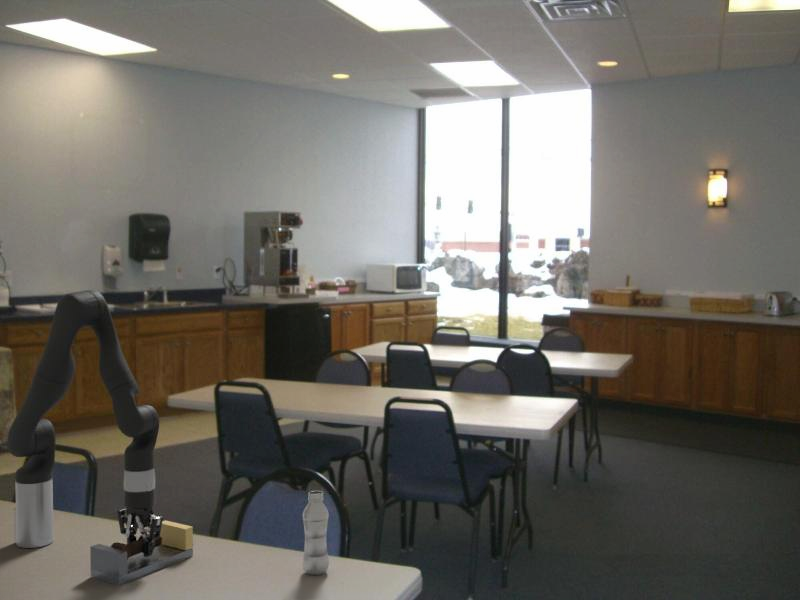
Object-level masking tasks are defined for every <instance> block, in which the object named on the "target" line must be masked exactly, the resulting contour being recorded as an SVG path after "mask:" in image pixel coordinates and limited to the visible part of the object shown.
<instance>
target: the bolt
mask: <svg viewBox="0 0 800 600" xmlns="http://www.w3.org/2000/svg"><path fill="white" fill-rule="evenodd" d="M154 535H155V534H154ZM147 536H148V537H149V533H147ZM161 541H162V537H161V536H160V538H159V539H156V540H154V541H153V550H154V548H155V547H157V546H159V545H161V543H162V542H161ZM143 542H144V539H143V535H142V534H140V535H139V537H138V539H136V541H134V542H131V543H128V544H127V543H122V542H117V541H116V542H113V543H112V544H111V545H110V547H113V548H117V549H120V550H124V551H127V560H128V558H129V557H131V556H133V555H136V554H139V553H141V552H142V553H144V552H143Z"/></svg>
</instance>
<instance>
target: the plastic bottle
mask: <svg viewBox="0 0 800 600" xmlns="http://www.w3.org/2000/svg"><path fill="white" fill-rule="evenodd" d="M307 496H308V497H307V501H308V503H307V505H306V506H305V507H304V509H303V511H302V520H303V521H302V522H303V527H304V530H303V531H304V548H303V551H304V552H303V557H302V569H303V570H304V572H305V573H306V574H308V575H314V576H315V575H316V576H317V575H321V574H325V573H326V572H327V570H329V569H328V568H329V565H330V562H329V559H330V558H329V554H328V545H327V535H328V534H327V533H328V532H327V531H328V521H329V516H330V515H329V511H328V508H327V507H326V505H325V504H324V502H323V501H324V491H322V490H311V491H309V492H308V495H307Z"/></svg>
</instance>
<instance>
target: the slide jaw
mask: <svg viewBox="0 0 800 600" xmlns="http://www.w3.org/2000/svg"><path fill="white" fill-rule="evenodd" d="M193 530H194V527H193V526H190V525H188V524H183V523H179V522H174V521H170V520H162V526H161V532H160V536H161V537H162V541H161V542H162V543H161V544H162V545H166V546H170V547H174V548H178V549H182V550H188V549H191V548H193V549H194V536H193V534H194V531H193Z"/></svg>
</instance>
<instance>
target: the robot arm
mask: <svg viewBox="0 0 800 600" xmlns="http://www.w3.org/2000/svg"><path fill="white" fill-rule="evenodd" d="M50 326H51V327H50V329H49V330H50V331H49V333H48V337H47V341H46V343H45V347H44V350H43V352H42V354H41V358H40V360H39V362H38V364H37V367H36V369H35V372H34V374H33V377H32V380H31V383H30V385H29V388H28V390H27V393H26V396H25V398H24V401H23V402H22V405H21V407H20V408H19V411H18V412H17V414H16V416H15V418H14V420H13V422H12V424H11V426H10V427H9V431H8V434H7V439H6V442H7V443H6V444H7V445H6V446H7V449H8V451H9V453H10V454H11V455H12V456H13V457H16V458H26V457H27V458H28V457H31V458H30V459H29V460H28V461H27V462H26V463H25V464H23V465H22V466H20V467H19V468H17V469H16V471H15V475H14V476H15V480H14V481H15V482H14V483H15V484H14V485H15V507H14V508H13V521H14V522H13V525H14V526H13V527H14V528H13V529H14V533H13V534H14V535H13V536H14V543H15V544H16V547H18V548H23V549H24V548H25V549H29V548H30V549H35V548H42V547H45V546H47V545H50V544H52V543H53V542H54V491H53V490H54V489H53V488H54V487H53V485H54V484H53V483H54V482H53V480H54V479H53V474H54V473H53V472H54V470H55V466H56V465H55V464H56V462H55V461H56V460H55V459H56V443H57V442H56V439H57V438H56V432H55V427H54V424H53V423H52V422H51V421H50V420H49V419H46V418H43V417H45V416H46V414H47V413H48V412H49V411H51V410H52V409H53V408H54V407H55V406H56V405H57V404H58V403H60V401H61V400H63V398H64V397H65V396H66V394H67V393H68V391H69V389H70V387H71V384H72V382H73V379H74V377H75V374H76V366H77V365H76V361H75V360H76V359H75V357H74V354H73V352H72V347H73V344H74V341H75V338H76V336H77V334H78V333H79V331H80V330H81V329H82V330H83V329H85V328H91V329H92V330H93V332H94V335H95V336H96V338H97V342H98V348H99V350H98V351H99V355H98V357H99V359H98V369H99V375H100V378H101V380H102V383H103V384H104V386H105V389H106V391H107V393H108V394H109V397H110V399H111V402H112V408H113V413H114V419H115V422H116V426H117V427H118V429H119V431H120V432H121V434H122V435H125V436H126V437H128V438H132V441H131V443H130V444H129V445H127V446H126V448H125V449H124V474H123V506H124V507H125V508H123V509H119V510H117V512H116V513H117V519H118V525H119V530H120V534H121V535H124V536H125V538H126V544H128V543H131V542H134V541H136V540H137V533H138V532H137V531H138V529H139V533H140V535H143V539H144V542H143V552H144V557H149V556H151V555H152V553H153V541H154V540H156V539H159V538H160V532H161V526H162V521H164V520H163V516H161V515H159V516H157V515H155V512H154V509H153V507H154V505H156V473H155V453H154V452H155V447H156V444H157V439H158V434H159V431H160V430H159V429H160V416H159V414H158V412H157V410H156V408H155V407H153V406H151V405H150V404H141V405H138V406H137V404H136V402H137V401H136V399H135V397H137V396H138V394H139V393H140V388H139V385H138V383H137V381H136V378H135V377H134V375H133V372H132V371H131V369H130V366H129V365H128V362H127V360H126V357H125V355H124V353H123V350H122V347H121V344H120V340H119V337H118V334H117V329H116V328H115V324H114V320H113V317H112V315H111V311H110V307H109V305H108V302H107V301H106V299H105V297H104V295H102V294H101V292H99V291H98V290H94V289H86V290H80V291H76V292H69V293H67V294H65V295H62V296H61V297H60V299H59V300H58V302H57V304H56V306H55V310H54V314H53V318H52V322H51V325H50ZM147 534H149V537H148V536H147ZM154 534H155V535H154Z"/></svg>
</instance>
